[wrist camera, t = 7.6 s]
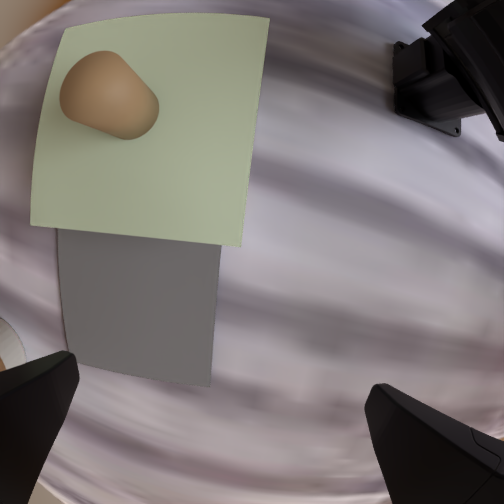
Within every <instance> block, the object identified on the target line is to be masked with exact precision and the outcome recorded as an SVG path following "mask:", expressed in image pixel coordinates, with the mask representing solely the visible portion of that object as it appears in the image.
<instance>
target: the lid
mask: <svg viewBox="0 0 504 504" xmlns="http://www.w3.org/2000/svg"><path fill="white" fill-rule="evenodd" d="M269 22H270V18H264V17H256V16H247V15H235V14H219V13H167V14H151V15H140V16H131V17H123V18H116V19H109V20H103V21H98V22H93V23H88V24H83V25H79V26H74V27H70V28H66V29H65V31H64V34H63V36H62V39H61V42H60V45H59V48H58V51H57V54H56V57H55V60H54V63H53V67H52V70H51V74H50V77H49V81H48V85H47V89H46V93H45V97H44V101H43V106H42V111H41V116H40V121H39V127H38V133H37V139H36V146H35V154H34V163H33V173H32V187H31V210H30V225H32V226H42V227H52V228H62V229H72V230H82V231H92V232H101V233H111V234H121V235H131V236H140V237H150V238H160V239H169V240H179V241H188V242H198V243H207V244H217V245H226V246H235V247H241V242H242V233H243V225H244V216H245V208H246V199H247V191H248V183H249V174H250V166H251V158H252V150H253V142H254V134H255V126H256V118H257V111H258V103H259V95H260V88H261V80H262V73H263V65H264V58H265V50H266V43H267V36H268V29H269Z"/></svg>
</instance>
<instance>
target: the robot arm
mask: <svg viewBox="0 0 504 504" xmlns="http://www.w3.org/2000/svg"><path fill="white" fill-rule="evenodd" d="M422 27H423V28H424V29H425V30H426V31H427V32H429V33H430V34H431V35H430V36H429V37H427V38H426V39H424V38H422V37H421V38H419V39H417V40H416V41H414V42H413V43H412V44H410V45H408V44H405V43H403V42H400V41H398V42H396V43H395V44H394V57H393V85H394V87H395V102H394V108H395V112H396V113H397V114H398V115H400V116H402V117H405V118H408V119H411V120H414V121H416V122H419V123H422V124H424V125H427V126H429V127H432V128H434V129H437V130H439V131H442V132H444V133H446V134H449V135H451V136H453V137H459V136H460V135H461V118H465V117H470V116H475V115H479V114H484V113H486V114H487V116H488V117H489V119H490V121H491V123H492V125H493V127H494V128H495V130H496V135H497V137H498V139H499V141H502V142H504V0H454V1H453V2H452V3H450V4H449V5H447V6H446V7H445V8H443V9H442V10H441V11H439V12H438V13H437V14H436V15H434V16H433V17H432V18H430V19H429V20H428V21H427V22H425V23H424V24H423V25H422ZM399 46H400V47H401V48H402V49H400V47H399ZM400 106H401V107H402V109H403V111H401V109H400ZM455 130H456V132H455ZM78 383H79V371H78V365H77V360H76V356H75V355H74V354H73V353H71V352H68V351H64V350H62V351H59V352H56V353H53V354H51V355H48V356H45V357H42V358H39V359H36V360H33V361H30V362H27V363H24V364H21V365H19V366H16V367H13V368H10V369H7V370H4V371H1V372H0V504H28V502H29V499H30V496H31V494H32V491H33V489H34V486H35V484H36V482H37V479H38V477H39V474H40V472H41V470H42V467H43V465H44V463H45V461H46V458H47V456H48V454H49V452H50V450H51V447H52V445H53V443H54V441H55V439H56V437H57V435H58V433H59V431H60V429H61V427H62V425H63V422H64V420H65V418H66V415H67V413H68V410H69V407H70V404H71V402H72V399H73V396H74V394H75V391H76V388H77V386H78ZM365 414H366V418H367V423H368V427H369V431H370V435H371V440H372V444H373V448H374V451H375V454H376V457H377V460H378V463H379V465H380V468H381V471H382V474H383V477H384V480H385V483H386V486H387V489H388V492H389V495H390V498H391V501H392V504H504V441H501V440H499V439H497V438H494V437H491V436H489V435H487V434H485V433H482V432H480V431H478V430H476V429H474V428H472V427H469V426H467V425H465V424H463V423H461V422H459V421H457V420H455V419H453V418H451V417H449V416H447V415H445V414H443V413H441V412H439V411H437V410H435V409H433V408H432V407H430V406H428V405H426V404H424V403H422V402H420V401H418V400H416V399H414V398H412V397H411V396H409V395H407V394H405V393H403V392H401V391H399V390H398V389H396V388H394V387H392V386H390V385H388V384H386V383H382V384H375V385H374V386H373V387H372V389H371V391H370V394H369V396H368V398H367V401H366V403H365Z"/></svg>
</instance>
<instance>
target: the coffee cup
mask: <svg viewBox="0 0 504 504" xmlns="http://www.w3.org/2000/svg"><path fill="white" fill-rule="evenodd" d="M24 363H26V355H25V351H24V347H23V345H22V343H21V341H20V339H19V337H18V335H17V334H16V332H15V331H14V330H13V328H12V327H11V326H10V325H9V324H8V323H7V322H5V321H4V320H3V319H1V318H0V372H1V371H4V370H7V369H10V368H13V367H16V366H19V365H21V364H24Z"/></svg>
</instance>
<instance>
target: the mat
mask: <svg viewBox="0 0 504 504" xmlns="http://www.w3.org/2000/svg"><path fill="white" fill-rule="evenodd" d="M220 255H221V245H217V244H207V243H198V242H188V241H179V240H169V239H160V238H150V237H140V236H131V235H121V234H111V233H101V232H92V231H82V230H72V229H62V228H58V264H59V280H60V291H61V301H62V310H63V318H64V325H65V331H66V338H67V343H68V349H69V352H71V353H73V354H74V355H75V356H76V360H77V363H80V364H84V365H88V366H92V367H96V368H100V369H104V370H108V371H113V372H117V373H122V374H127V375H131V376H137V377H142V378H147V379H153V380H159V381H165V382H172V383H178V384H186V385H194V386H202V387H210V381H211V365H212V351H213V337H214V324H215V311H216V299H217V288H218V277H219V266H220Z"/></svg>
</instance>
